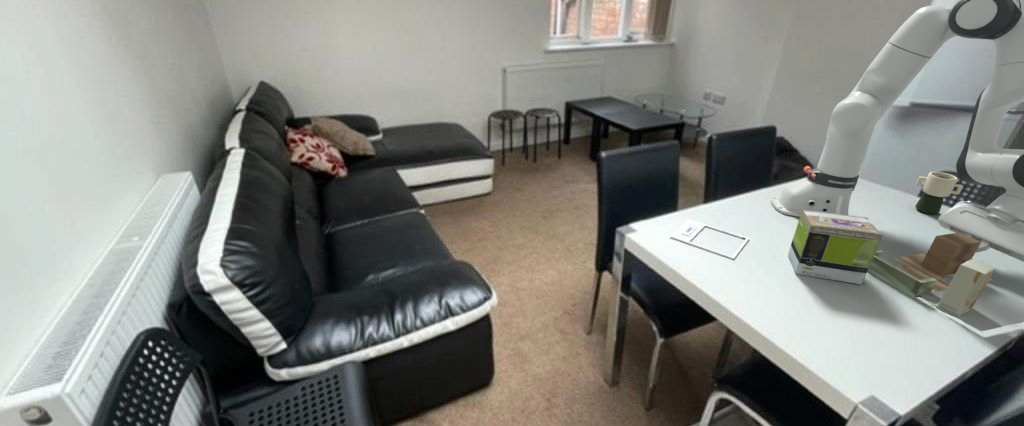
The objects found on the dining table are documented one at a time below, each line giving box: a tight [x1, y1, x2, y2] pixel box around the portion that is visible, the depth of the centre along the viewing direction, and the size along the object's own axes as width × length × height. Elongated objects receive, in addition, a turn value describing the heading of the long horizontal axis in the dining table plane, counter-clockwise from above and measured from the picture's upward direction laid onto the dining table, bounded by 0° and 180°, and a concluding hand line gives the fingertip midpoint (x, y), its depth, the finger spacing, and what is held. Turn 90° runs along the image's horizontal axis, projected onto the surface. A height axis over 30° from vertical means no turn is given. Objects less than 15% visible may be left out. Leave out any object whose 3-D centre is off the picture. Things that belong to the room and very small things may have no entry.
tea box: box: [787, 210, 883, 286], centre depth 113 cm, size 15×10×15 cm, turn 71°
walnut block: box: [921, 232, 981, 276], centre depth 113 cm, size 8×5×9 cm, turn 104°
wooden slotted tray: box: [867, 249, 993, 299], centre depth 114 cm, size 26×14×4 cm, turn 104°
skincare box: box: [936, 258, 997, 319], centre depth 99 cm, size 6×4×12 cm
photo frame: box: [670, 219, 750, 260], centre depth 130 cm, size 15×1×18 cm
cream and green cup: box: [914, 171, 964, 214], centre depth 145 cm, size 11×7×13 cm, turn 42°
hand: (963, 252), depth 114 cm, fingers closed, pressing on walnut block
